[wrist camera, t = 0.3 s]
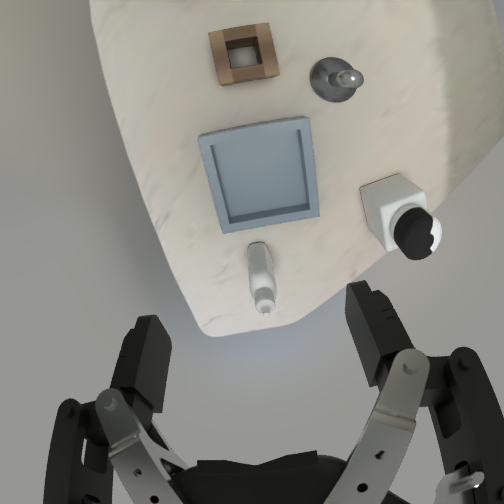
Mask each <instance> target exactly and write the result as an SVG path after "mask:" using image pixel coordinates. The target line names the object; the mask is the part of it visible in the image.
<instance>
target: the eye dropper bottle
mask: <svg viewBox="0 0 504 504" xmlns="http://www.w3.org/2000/svg"><path fill="white" fill-rule="evenodd" d="M248 270H249V285H250V291H251V294H252V296H253V298H254V299H255V308H256V310H257V311H258V312H260V313H263V316H264V317H268V316H269V313H270V312H271V311H273V310H274V308H275V299H276V295H277V287H276V281H275V275H274V270H273V264H272V258H271V254H270V252H269V250H268V248H267V246H266V245H265V244H264V243H262V242H260V243H255V244H251V245H250V246H249V248H248Z"/></svg>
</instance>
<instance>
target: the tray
mask: <svg viewBox="0 0 504 504" xmlns="http://www.w3.org/2000/svg"><path fill="white" fill-rule="evenodd" d="M198 142H199V146H200V150H201V154H202V158H203V162H204V166H205V170H206V173H207V177H208V181H209V185H210V189H211V192H212V196H213V200H214V204H215V207H216V211H217V215H218V218H219V222H220V226H221V229H222V233H223V234H225V233H230V232H235V231H241V230H246V229H251V228H257V227H262V226H268V225H273V224H279V223H285V222H290V221H296V220H302V219H307V218H313V217H319V216H320V214H319V201H318V190H317V179H316V170H315V161H314V152H313V144H312V136H311V129H310V121H309V118H307V117H305V116H301V117H293V118H286V119H279V120H272V121H266V122H260V123H254V124H249V125H243V126H238V127H233V128H228V129H224V130H219V131H215V132H210V133H206V134H202V135H200V136H199V137H198Z"/></svg>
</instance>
